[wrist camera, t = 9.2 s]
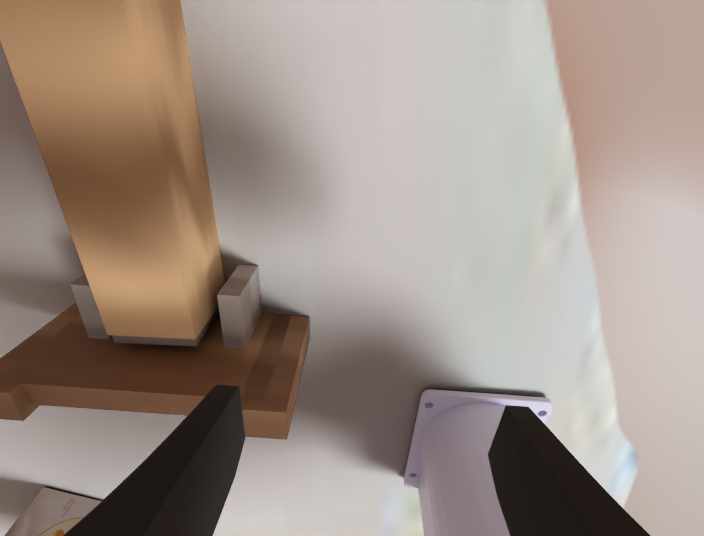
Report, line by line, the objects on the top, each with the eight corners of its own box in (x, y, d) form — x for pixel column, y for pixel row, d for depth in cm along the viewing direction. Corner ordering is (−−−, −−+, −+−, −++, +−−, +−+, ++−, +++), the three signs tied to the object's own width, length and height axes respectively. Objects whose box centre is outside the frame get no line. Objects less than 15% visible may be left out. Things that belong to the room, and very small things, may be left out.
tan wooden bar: (228, 300, 19) (197, 347, 16) (157, 297, 19) (111, 343, 16) (175, -35, 13) (101, -84, 9) (68, -38, 13) (-47, -87, 9)
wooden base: (309, 339, 20) (286, 439, 14) (87, 323, 20) (-24, 417, 15) (309, 269, 18) (283, 353, 12) (61, 252, 18) (-81, 328, 12)
